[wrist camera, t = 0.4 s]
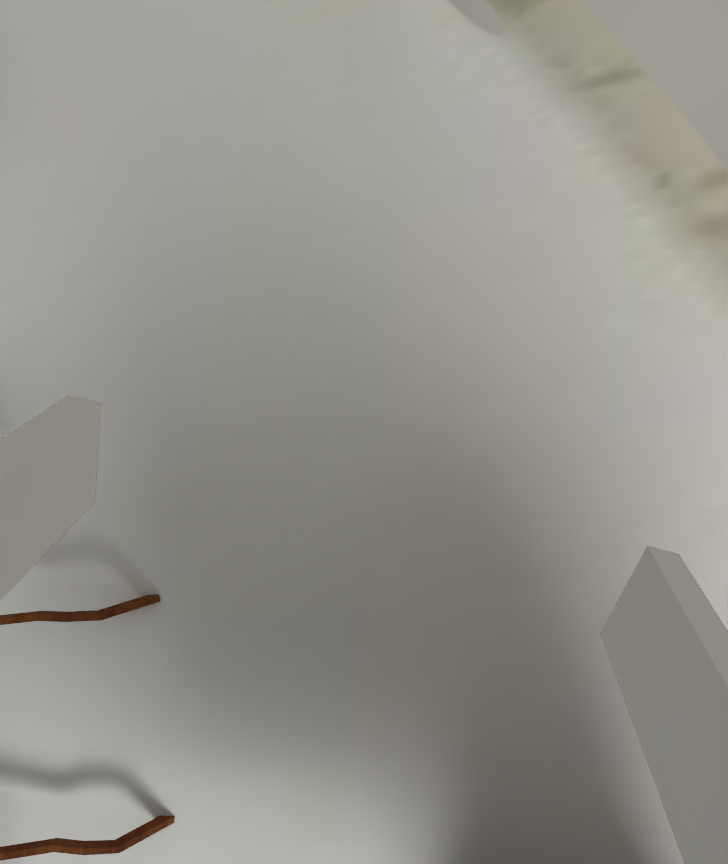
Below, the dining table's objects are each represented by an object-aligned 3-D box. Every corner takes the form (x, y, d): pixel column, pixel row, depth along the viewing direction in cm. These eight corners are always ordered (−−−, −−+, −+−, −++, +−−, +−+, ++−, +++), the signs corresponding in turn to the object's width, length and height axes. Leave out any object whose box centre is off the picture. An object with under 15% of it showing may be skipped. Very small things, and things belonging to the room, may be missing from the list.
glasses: (-57, 605, 35) (-131, 633, 30) (162, 591, 35) (123, 617, 30) (-41, 831, 35) (-113, 896, 30) (179, 822, 35) (142, 887, 30)
